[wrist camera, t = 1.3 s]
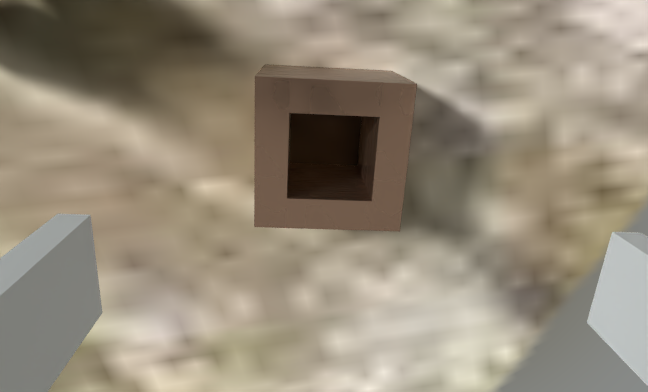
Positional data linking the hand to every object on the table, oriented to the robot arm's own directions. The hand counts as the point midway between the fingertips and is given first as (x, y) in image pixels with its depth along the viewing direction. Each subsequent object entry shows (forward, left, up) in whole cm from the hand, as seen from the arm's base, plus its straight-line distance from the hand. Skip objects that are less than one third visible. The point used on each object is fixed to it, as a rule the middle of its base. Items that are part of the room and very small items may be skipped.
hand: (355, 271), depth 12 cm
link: (0, 0, -16) cm, 16 cm away
